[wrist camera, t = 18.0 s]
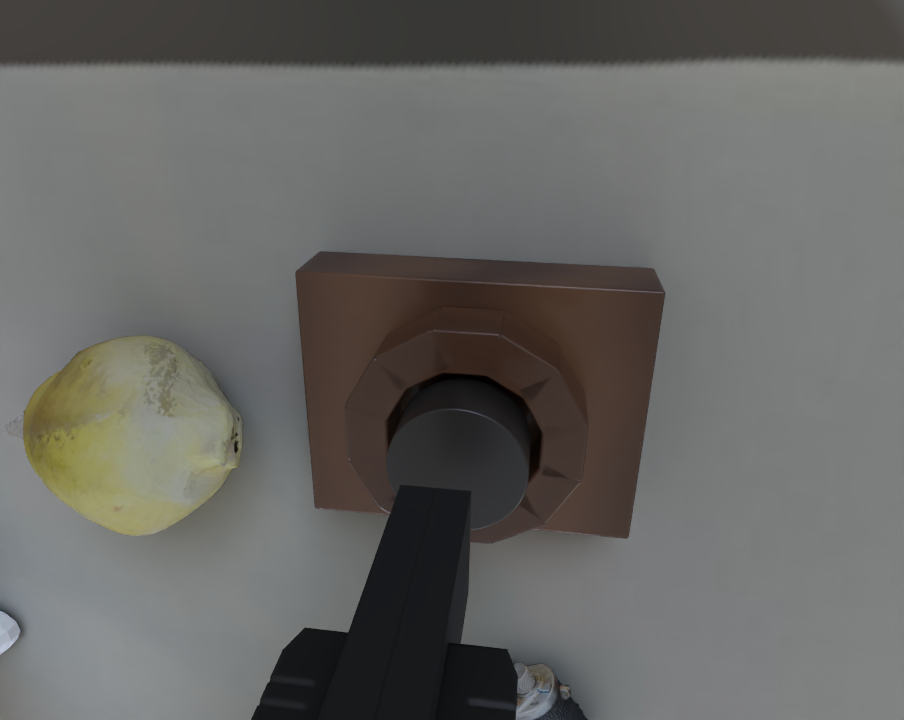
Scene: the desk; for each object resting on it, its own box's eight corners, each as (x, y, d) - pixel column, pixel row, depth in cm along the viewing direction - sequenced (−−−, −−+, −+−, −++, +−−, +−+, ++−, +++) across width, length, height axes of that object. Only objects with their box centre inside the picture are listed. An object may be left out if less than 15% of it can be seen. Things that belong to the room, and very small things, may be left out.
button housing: (654, 268, 20) (677, 315, 16) (622, 497, 23) (634, 580, 19) (319, 250, 21) (269, 291, 17) (334, 471, 24) (295, 545, 20)
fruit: (-9, 338, 24) (217, 283, 20) (103, 449, 27) (313, 419, 24) (-142, 467, 20) (112, 428, 16) (11, 579, 23) (248, 568, 20)
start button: (534, 382, 18) (533, 414, 16) (526, 497, 19) (524, 537, 17) (398, 372, 18) (383, 403, 16) (400, 486, 20) (387, 524, 18)
